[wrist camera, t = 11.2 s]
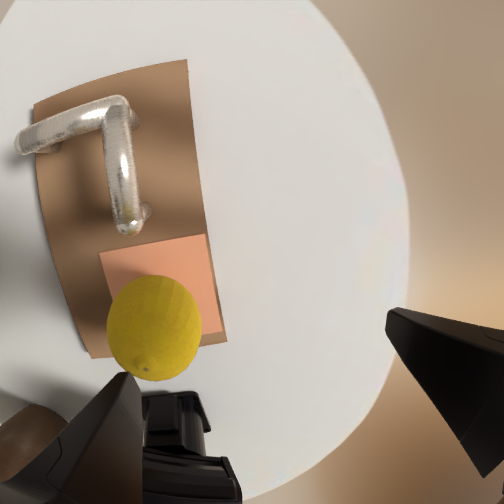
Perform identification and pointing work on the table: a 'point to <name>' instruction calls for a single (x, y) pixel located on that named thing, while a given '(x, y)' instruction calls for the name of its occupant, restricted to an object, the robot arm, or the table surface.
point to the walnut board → (97, 194)
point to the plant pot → (26, 437)
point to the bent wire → (114, 147)
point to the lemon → (154, 328)
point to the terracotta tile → (168, 271)
